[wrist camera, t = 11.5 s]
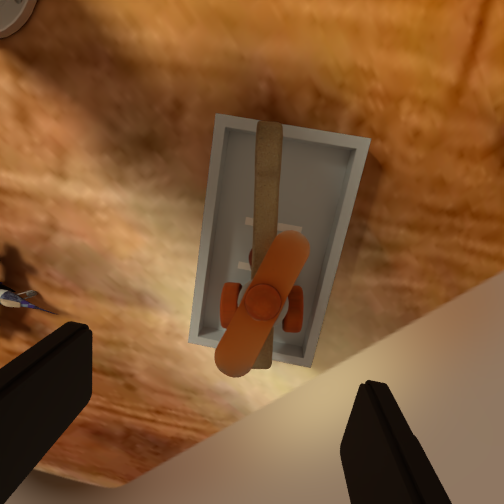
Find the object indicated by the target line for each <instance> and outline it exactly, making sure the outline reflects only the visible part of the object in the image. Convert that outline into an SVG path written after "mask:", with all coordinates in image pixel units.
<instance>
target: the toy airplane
mask: <svg viewBox="0 0 504 504" xmlns="http://www.w3.org/2000/svg"><path fill="white" fill-rule="evenodd" d="M0 261H1V260H0ZM13 292H15V291H14V290H12V289H11V288H9V287H7V286H5V285H2V282H0V304H2V305H4V306H8V307H28V308H34V309H40V310H43V311H46V312H49V311H47V310H44V309H41V308H39V307H37V306H35V305H33V304H31V303H29V302H28V301H26V300H25V299H27V298H30V297H32V296H35V295H37V292H36V291H33V290H30V291H27V292H23V293H19V294H15V293H13ZM24 293H26V295H27V296H30V297H26V298H21V297H20V296H18V295H20V294H24ZM50 313H52V312H50ZM53 314H55V313H53ZM57 315H58V314H57Z"/></svg>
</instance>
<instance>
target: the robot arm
mask: <svg viewBox="0 0 504 504" xmlns="http://www.w3.org/2000/svg"><path fill="white" fill-rule="evenodd" d="M36 2H37V0H0V38H4V37H7V36H9V35H11V34H13V33H14V32H16V31H18V30H19V29H20V28H21V27H22V26H23V25H24V24H25V23H26V21H27V20H28V18H29V17H30V15H31V14H32V12H33V9H34V7H35V4H36ZM91 395H92V331H91V330H90V329H89V327H88V325H86V324H82V323H77V322H72V321H70V322H67V323H65V324H64V325H62V326H61V327H60V328H58V329H57V330H55V331H54V332H52V333H51V334H49V335H48V336H47V337H45V338H44V339H42V340H41V341H39V342H38V343H37V344H35V345H34V346H32V347H31V348H29V349H28V350H26V351H25V352H24V353H22V354H21V355H19V356H18V357H16V358H15V359H14V360H12V361H11V362H9V363H8V364H6V365H5V366H4V367H2V368H1V369H0V504H4V503H5V502H6V501H7V499H8V498H9V497H10V496H11V494H12V493H13V492H14V491H15V490H16V489H17V487H18V486H19V485H20V484H21V483H22V481H23V480H24V479H25V478H26V477H27V475H28V474H29V473H30V472H31V471H32V469H33V468H34V467H35V466H36V465H37V463H38V462H39V461H40V460H41V459H42V457H43V456H44V455H45V454H46V453H47V451H48V450H49V449H50V448H51V447H52V446H53V444H54V443H55V442H56V441H57V440H58V438H59V437H60V436H61V435H62V434H63V432H64V431H65V430H66V429H67V428H68V426H69V425H70V424H71V423H72V422H73V420H74V419H75V418H76V417H77V416H78V414H79V413H80V412H81V411H82V410H83V408H84V407H85V406H86V405H87V403H88V402H89V400H90V398H91ZM340 456H341V461H342V466H343V470H344V474H345V479H346V484H347V488H348V493H349V497H350V502H351V504H452V503H451V501H450V499H449V497H448V495H447V493H446V492H445V490H444V488H443V486H442V484H441V482H440V480H439V478H438V476H437V475H436V473H435V471H434V469H433V467H432V465H431V463H430V461H429V460H428V458H427V456H426V454H425V452H424V450H423V448H422V446H421V444H420V443H419V441H418V439H417V438H416V436H415V435H413V433H412V431H411V429H410V427H409V425H408V424H407V421H406V420H405V418H404V416H403V414H402V412H401V410H400V408H399V406H398V404H397V402H396V400H395V399H394V397H393V395H392V393H391V391H390V389H389V387H388V386H387V384H385V383H381V382H376V381H371V380H367V381H366V382H365V384H360V386H359V389H358V392H357V395H356V398H355V402H354V405H353V408H352V411H351V414H350V417H349V420H348V423H347V426H346V429H345V433H344V436H343V439H342V442H341V446H340Z"/></svg>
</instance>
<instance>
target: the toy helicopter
mask: <svg viewBox="0 0 504 504" xmlns="http://www.w3.org/2000/svg"><path fill="white" fill-rule="evenodd" d="M282 144H283V126H282V124H281V123H279V122H271V121H258V122H257V128H256V144H255V184H254V214H253V246H252V249H251V251H250V253H249V265H250V269H251V280H250V281H249V282H247V283H246V284H245V285H244V286H243V288H242V285H241V284H240V283H235V282H226V283H225V284H224V286H223V289H222V293H221V300H220V322H221V326H222V328H225V329H226V331H225V333H224V335H223V337H222V338H221V340H220V342H219V344H218V346H217V348H216V350H215V363H216V365H217V367H218V369H219V370H220V371H221V372H222V373H224V374H226V375H228V376H230V377H241V376H244V375H245V374H247V373H248V372H249V371H250V370H251V369H269V368H270V367H271V364H272V353H273V335H274V326H276V325H277V324H279V323H280V322H281V321H282V329H283V331H285V332H290V333H298V332H300V331H301V329H302V324H303V310H304V298H303V290H302V288H301V287H300V286H298V285H294V283H295V281H296V279H297V278H298V276H299V274H300V272H301V270H302V268H303V266H304V264H305V263H306V261H307V259H308V257H309V254H310V244H309V241H308V239H307V238H306V237H305V236H304V235H303V234H302V233H300V232H298V231H294V230H287V231H283V232H281V233H279V234H278V235H277V225H278V206H279V185H280V174H281V161H282Z"/></svg>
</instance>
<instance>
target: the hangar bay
mask: <svg viewBox="0 0 504 504" xmlns="http://www.w3.org/2000/svg"><path fill="white" fill-rule="evenodd" d="M258 121H261V120H255V119H249V118H243V117H237V116H231V115H225V114H219V113H216V116H215V124H214V132H213V140H212V149H211V157H210V165H209V173H208V182H207V190H206V198H205V206H204V215H203V223H202V231H201V240H200V248H199V256H198V264H197V273H196V281H195V289H194V297H193V306H192V314H191V322H190V331H189V339H188V343H193V344H197V345H202V346H207V347H212V348H217V346H218V344H219V342H220V340H221V338H222V337H223V335H224V333H225V331H226V329H225V328H222V326H221V322H220V300H221V293H222V289H223V286H224V284H225V283H226V282H235V283H240V284H241V285H242V288H243V286H244V285H245V284H246V283H247V282H249V281H250V280H251V269H250V265H249V253H250V251H251V249H252V246H253V214H254V184H255V144H256V128H257V122H258ZM282 126H283V144H282V161H281V174H280V185H279V206H278V225H277V235H278V234H279V233H281V232H283V231H287V230H294V231H298V232H300V233H302V234H303V235H304V236H305V237H306V238H307V239H308V241H309V244H310V254H309V257H308V259H307V261H306V263H305V264H304V266H303V268H302V270H301V272H300V274H299V276H298V278H297V279H296V281H295V283H294V285H298V286H300V287H301V288H302V290H303V298H304V310H303V324H302V329H301V331H300V332H298V333H290V332H285V331H283V329H282V321H281V322H280V323H279V324H277V325H276V326H274V335H273V353H272V360H275V361H280V362H285V363H289V364H294V365H299V366H304V367H309V368H311V365H312V362H313V358H314V354H315V350H316V346H317V343H318V339H319V335H320V331H321V327H322V324H323V320H324V316H325V312H326V308H327V305H328V301H329V297H330V293H331V290H332V286H333V282H334V278H335V274H336V271H337V267H338V263H339V259H340V255H341V252H342V248H343V244H344V240H345V236H346V233H347V229H348V225H349V221H350V217H351V214H352V210H353V206H354V202H355V199H356V195H357V191H358V187H359V183H360V180H361V176H362V172H363V168H364V164H365V161H366V157H367V153H368V149H369V145H370V142H371V139H370V138H364V137H358V136H352V135H346V134H340V133H334V132H328V131H322V130H316V129H310V128H304V127H298V126H291V125H285V124H282Z"/></svg>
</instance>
